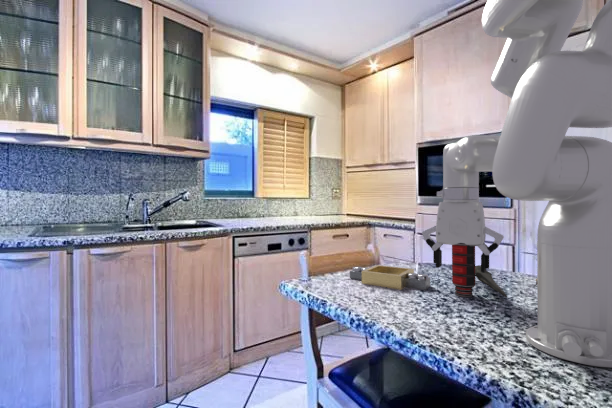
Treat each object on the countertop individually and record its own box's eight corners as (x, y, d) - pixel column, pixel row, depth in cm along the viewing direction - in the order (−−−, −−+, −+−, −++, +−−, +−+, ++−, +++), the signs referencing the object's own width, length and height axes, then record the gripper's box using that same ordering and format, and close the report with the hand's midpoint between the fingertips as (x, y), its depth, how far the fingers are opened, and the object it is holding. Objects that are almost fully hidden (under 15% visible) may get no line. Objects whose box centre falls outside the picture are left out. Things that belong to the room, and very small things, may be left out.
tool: (503, 303, 71) (513, 293, 70) (472, 279, 73) (482, 269, 72) (484, 280, 91) (492, 272, 90) (460, 262, 93) (468, 254, 92)
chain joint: (422, 293, 77) (422, 278, 77) (344, 282, 89) (344, 269, 89) (433, 284, 86) (433, 271, 86) (361, 275, 98) (361, 263, 98)
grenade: (443, 291, 79) (442, 229, 79) (460, 290, 80) (459, 228, 80) (462, 298, 73) (461, 231, 73) (480, 297, 74) (479, 230, 74)
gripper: (418, 196, 78) (418, 267, 78) (502, 195, 68) (502, 277, 69) (426, 196, 84) (426, 262, 85) (504, 195, 75) (504, 270, 75)
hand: (460, 269), depth 77 cm, fingers open, 9 cm apart
